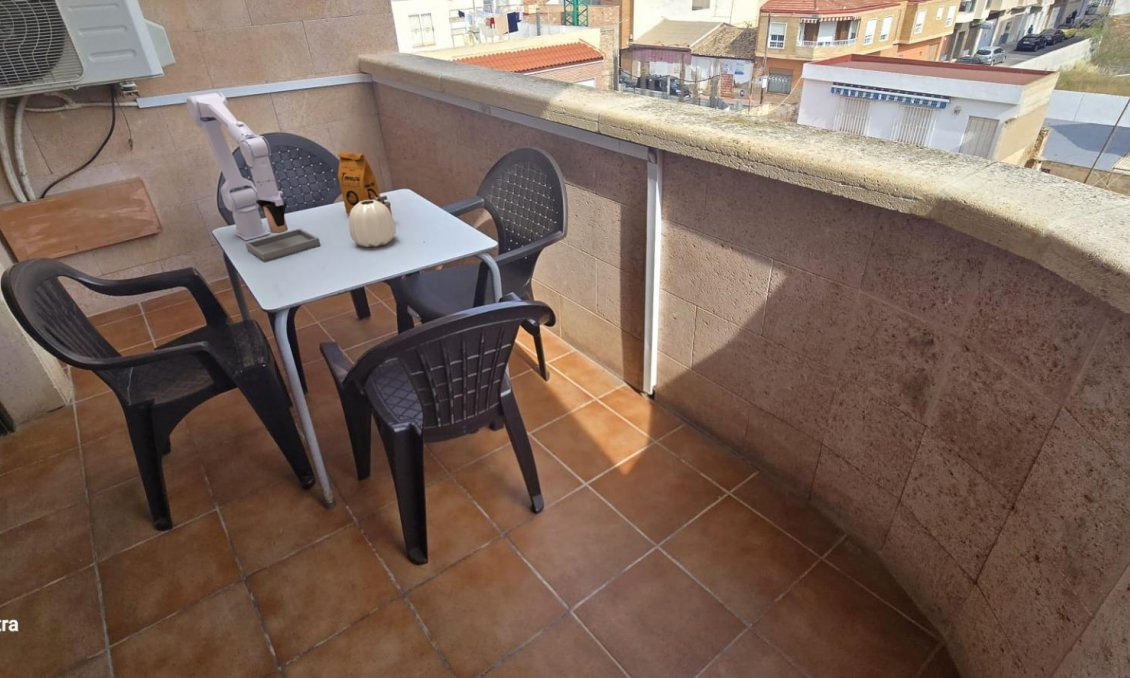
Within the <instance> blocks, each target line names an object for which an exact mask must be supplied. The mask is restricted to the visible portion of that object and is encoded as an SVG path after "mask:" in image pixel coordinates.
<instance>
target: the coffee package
mask: <svg viewBox="0 0 1130 678" xmlns="http://www.w3.org/2000/svg"><path fill="white" fill-rule="evenodd" d="M337 156H338V158H339V164H338V172H337V180H338V183H339V187H340V193H341V195H342V200H343V204H344V207H345V213H346V215H350V212H351V209H352V208H353V207H354V206H355V205H356V204H358V203H359V202H361V201H364V200H374V199H375V197H377V198H380V197H381V193H380V190H379V187H378V184H377V180H376V177H375V174H374V172H373V169H372V168H371V166H370V164H369V162H368V160H367V159H366V156H365V155H364V153H355V152H344V151H343V152H342V151H339V152H338V154H337Z"/></svg>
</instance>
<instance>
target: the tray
mask: <svg viewBox="0 0 1130 678" xmlns="http://www.w3.org/2000/svg"><path fill="white" fill-rule="evenodd" d="M317 246H318V247H321V242H320V238H319V237H317V236H316V235H314V234H311V233H309V232H308V231H306V230H304V229H302V228H297V229H293V230H289V231H285V232H282V233H277V234H276V235H271V236H268V237H267V236H266V237H264V238H260V239H257V240H252V241H249V242H246V243H245V247H246V250H247V251H248V252H249V253H250V254H252V255H253V256H255V257H256V258H258V259H259V260H261V261H263V262H264V263H266V262H267V263H268V262H271V261H275V260H278V259H282V258H283V257H284V258H285V257H287V256H290V255H294V254H297V253H301V252H304V251H308V250H311V249H314V248H317Z"/></svg>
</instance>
